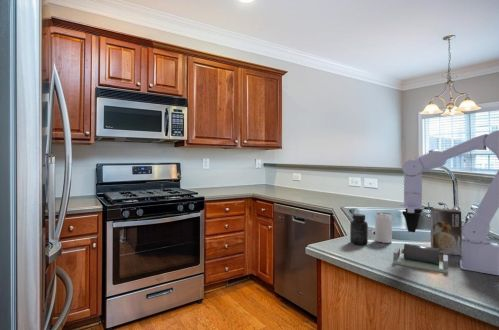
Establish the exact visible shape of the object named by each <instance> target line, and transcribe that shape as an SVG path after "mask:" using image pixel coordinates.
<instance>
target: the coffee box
mask: <svg viewBox="0 0 499 330" xmlns="http://www.w3.org/2000/svg"><path fill="white" fill-rule="evenodd" d="M462 235H463V234H462V211H460V210H458V209H450V208H436V207H435V208H434V207H433V208H432V207H430V247H431V248H438V249H439V254H443V255H455V256H462V237H463V236H462Z"/></svg>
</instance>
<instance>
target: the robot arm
mask: <svg viewBox="0 0 499 330" xmlns="http://www.w3.org/2000/svg"><path fill="white" fill-rule="evenodd" d="M487 149H488V150H489V151H491V152H492V153H493V154H494V155H495V156H496V158H497V160H498V161H499V129H498V130H494V131H491V132H489V134H488V133H484V134H480V135H479V136H474V137H472V138H470V139H468V140H466V141H463V142H460V143H458V144H456V145H454V146H452V147H449V148H447V149H445V150H440V149H435V150H434V149H430V150H428V152H427V153H425V154H422V155H420V156H419V155H416V156H414V159H412V158H411V159H407V160H406V161H404V163H402V167H401V169H402V171H403V174H404V175H403V176H404V177H403V178H404V179H403V203H400V205H399V206H400V207H403V208H405V209H404V210H403V211H402V215H403V218H404V219H405V223H406V228H407V232H408V233H415V232H416V230H417V228H418V224H419V221H420V217H421V214H422V212H423V179H422V177H423V176H422V174H423V173H424V172H428V171H432V170H433V169H436V168H439V167H442V166H445V165H446V163H447V160H449V159H452V158H455V157H458V156H461V155H463V154H466V153H469V152H472V151H487ZM498 209H499V169H498V170H497V172H496V174H495V175H494V178H493V179H492V181H491V183H490V184H489V186H488V188H487V190H486V192H485V193H484V196H483V198H482V199H481V201H480V203H479V205H478V207H477V208H476V211H475V212H474V213H473V215H472V216H471V218H470V219H468V220H467V221H466V223H464V224H463V226H461V232H462V235H463V236H462V255H461V260H459V267H460V268H459V269H461V270H466V271H471V272H477V273H484V274H488V275H489V274H490V275H495V276H499V244H498V243H495V242H491V240H490V239H489V238H488V234H489V233H490V228H491V227H490V224H491V222H492V220H493V218H494V217H495V214H496V213H497V211H498Z"/></svg>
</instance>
